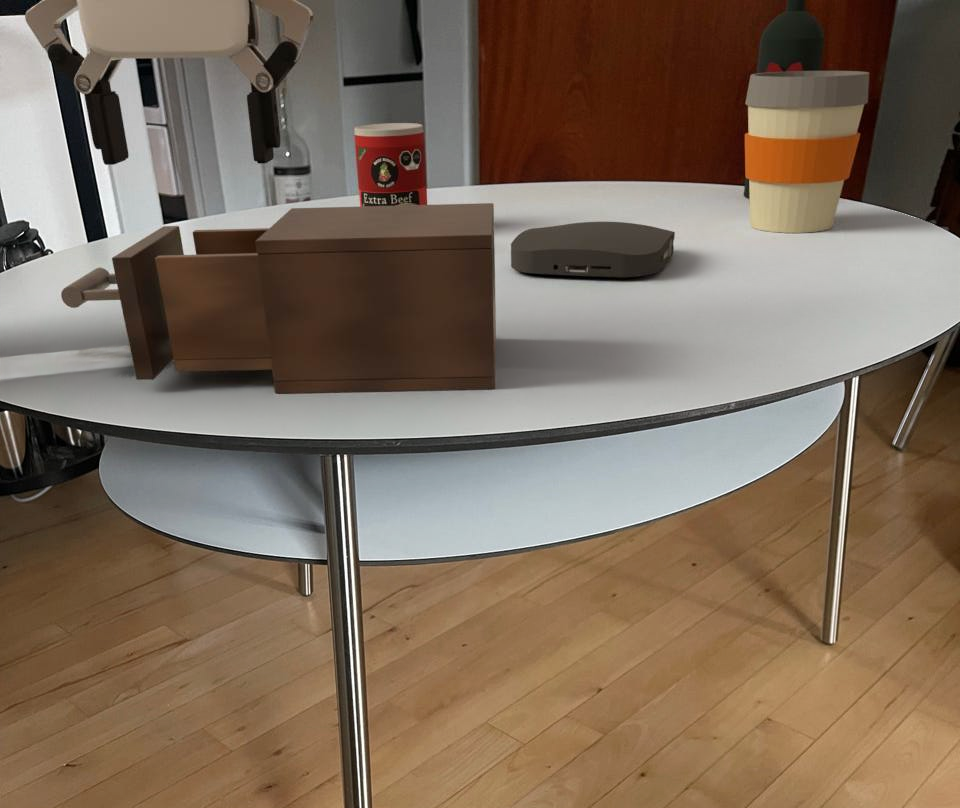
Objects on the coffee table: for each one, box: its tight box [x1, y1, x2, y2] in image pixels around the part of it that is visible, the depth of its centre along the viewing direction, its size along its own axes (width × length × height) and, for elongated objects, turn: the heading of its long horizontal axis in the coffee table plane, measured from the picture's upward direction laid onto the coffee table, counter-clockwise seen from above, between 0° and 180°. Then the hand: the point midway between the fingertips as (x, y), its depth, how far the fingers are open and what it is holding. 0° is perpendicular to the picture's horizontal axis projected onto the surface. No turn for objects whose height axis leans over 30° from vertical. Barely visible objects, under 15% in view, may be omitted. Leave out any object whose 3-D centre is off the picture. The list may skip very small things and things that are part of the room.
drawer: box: [60, 225, 272, 381], centre depth 71 cm, size 18×11×8 cm, turn 89°
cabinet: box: [255, 202, 497, 394], centre depth 71 cm, size 15×13×10 cm
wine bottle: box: [743, 0, 826, 199], centre depth 125 cm, size 8×10×30 cm
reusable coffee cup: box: [744, 70, 870, 234], centre depth 111 cm, size 13×13×15 cm
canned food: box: [353, 122, 428, 207], centre depth 116 cm, size 8×8×11 cm
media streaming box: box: [510, 221, 676, 279], centre depth 100 cm, size 15×15×3 cm
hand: (190, 161), depth 66 cm, fingers open, 9 cm apart
